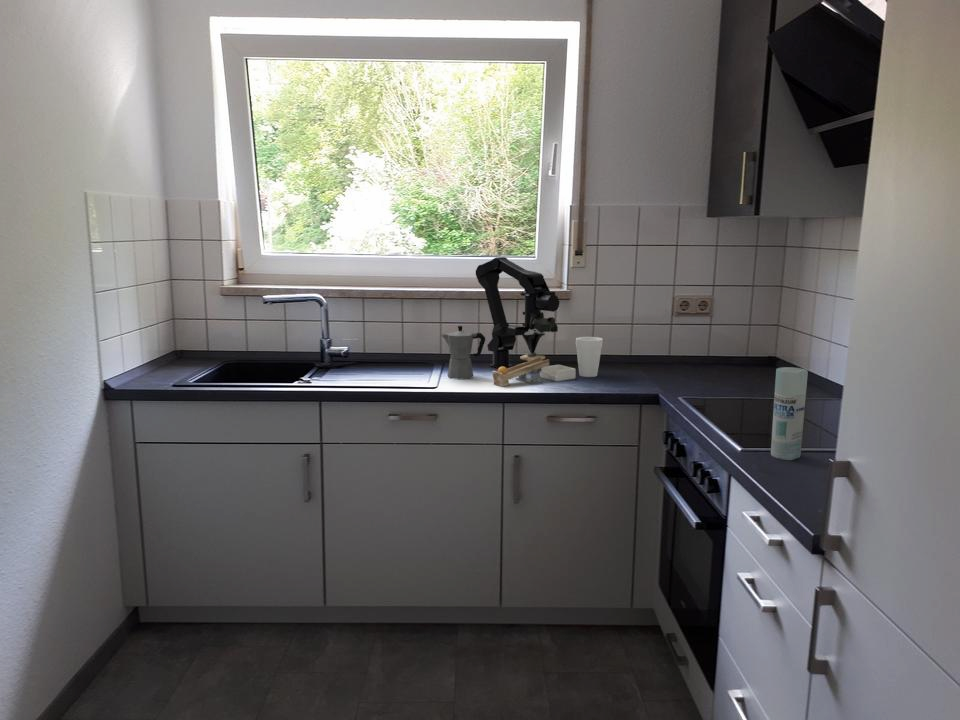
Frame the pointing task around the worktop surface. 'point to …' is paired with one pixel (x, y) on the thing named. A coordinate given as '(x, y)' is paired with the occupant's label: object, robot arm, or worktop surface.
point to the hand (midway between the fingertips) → (532, 352)
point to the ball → (502, 370)
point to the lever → (521, 368)
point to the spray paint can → (788, 412)
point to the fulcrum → (532, 380)
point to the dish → (557, 372)
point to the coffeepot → (462, 352)
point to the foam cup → (588, 355)
